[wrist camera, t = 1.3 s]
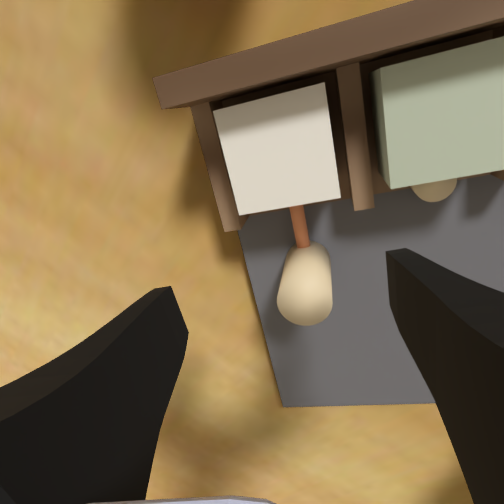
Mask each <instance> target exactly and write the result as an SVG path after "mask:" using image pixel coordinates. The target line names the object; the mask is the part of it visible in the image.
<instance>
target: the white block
mask: <svg viewBox="0 0 504 504" xmlns="http://www.w3.org/2000/svg"><path fill="white" fill-rule="evenodd" d="M213 114H214V118H215V122H216V126H217V130H218V134H219V138H220V142H221V145H222V149H223V153H224V157H225V161H226V165H227V169H228V173H229V177H230V181H231V185H232V189H233V193H234V197H235V201H236V205H237V209H238V213H239V215H245V214H251V213H256V212H262V211H268V210H274V209H280V208H285V207H289V208H290V214H291V219H292V224H293V229H294V234H295V239H296V244H295V245H293V246H292V247H291V248H290V249H289V251H288V253H287V256H286V260H285V264H284V269H283V273H282V278H281V282H280V286H279V291H278V295H277V306H278V309H279V311H280V313H281V314H282V315H283V316H284V317H285V318H286V319H287V320H288V321H290V322H292V323H294V324H297V325H302V326H310V325H315V324H318V323H320V322H322V321H323V320H325V319H326V318H327V317H328V315H329V314H330V312H331V310H332V304H333V302H332V280H331V259H330V255H329V252H328V251H327V249H326V248H325V247H324V246H323V245H321V244H320V243H317V242H315V241H310V240H309V235H308V229H307V224H306V218H305V213H304V207H303V204H308V203H314V202H320V201H326V200H332V199H337V198H341V195H340V188H339V181H338V174H337V167H336V160H335V152H334V145H333V138H332V131H331V124H330V117H329V110H328V103H327V96H326V89H325V82H324V83H320V84H316V85H312V86H308V87H304V88H300V89H296V90H293V91H289V92H285V93H281V94H277V95H273V96H269V97H265V98H261V99H258V100H254V101H250V102H246V103H242V104H238V105H234V106H230V107H226V108H223V109H219V110H215V111H213Z"/></svg>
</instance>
